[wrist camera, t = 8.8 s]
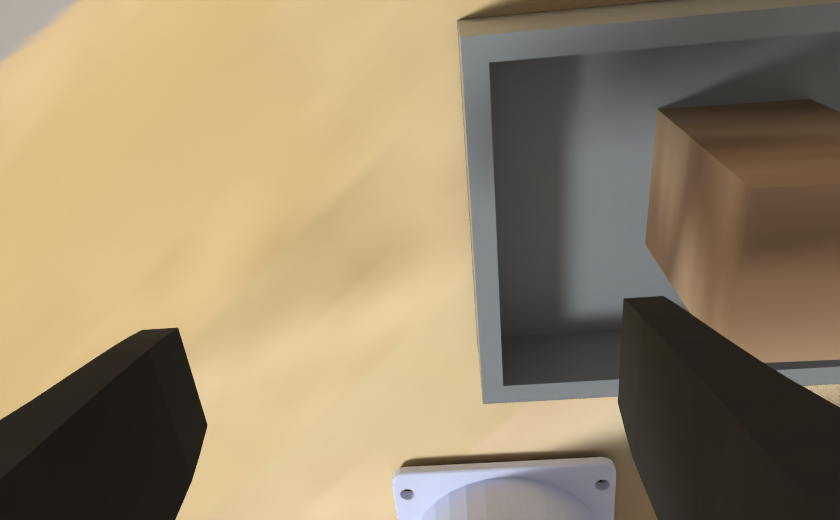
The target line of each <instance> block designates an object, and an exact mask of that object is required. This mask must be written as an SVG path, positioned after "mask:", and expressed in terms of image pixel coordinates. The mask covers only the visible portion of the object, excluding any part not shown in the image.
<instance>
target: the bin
mask: <svg viewBox="0 0 840 520" xmlns="http://www.w3.org/2000/svg"><path fill="white" fill-rule="evenodd" d="M457 26H458V42H459V58H460V74H461V89H462V105H463V121H464V137H465V153H466V168H467V184H468V200H469V216H470V232H471V248H472V263H473V279H474V295H475V311H476V327H477V343H478V354H479V365H480V376H481V386H482V397H483V404H492V403H510V402H528V401H545V400H563V399H581V398H598V397H616V396H618V392H619V373H620V354H621V335H622V316H623V298H637V297H653V296H664V297H666V298H668V299H669V300H671V301H673V302H674V303H676V304H677V305H679V306H680V307H682V308H683V309H685V310H686V311H688V309H687V308H686V306H685V305H684V303H683V302H682V300H681V299H680V297H679V296H678V294H677V292H676V291H675V289H674V288H673V286H672V285H671V283H670V282H669V280H668V279H667V277H666V276H665V274H664V272H663V271H662V269H661V268H660V266H659V265H658V263H657V262H656V260H655V259H654V257H653V256H652V254H651V252H650V251H649V249H648V248H647V246H646V245H645V239H646V228H647V216H648V205H649V194H650V183H651V171H652V160H653V149H654V137H655V126H656V115H657V109H665V108H681V107H696V106H712V105H727V104H742V103H758V102H773V101H789V100H804V99H812V100H814V101H816V102H819V103H821V104H823V105H825V106H827V107H829V108H831V109H834V110H836V111H838V112H840V0H665V1H654V2H644V3H633V4H622V5H611V6H601V7H590V8H579V9H569V10H558V11H547V12H537V13H526V14H515V15H505V16H494V17H483V18H473V19H462V20H457ZM688 312H689V311H688ZM765 364H766V365H768V366H770V367H771V368H773V369H775V370H776V371H778V372H779V373H781V374H783V375H784V376H786V377H787V378H789V379H791V380H793V381H794V382H796V383H798V384H800V385H801V386H810V385H828V384H840V360H818V361H795V362H772V363H765Z"/></svg>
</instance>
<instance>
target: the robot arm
mask: <svg viewBox="0 0 840 520" xmlns="http://www.w3.org/2000/svg"><path fill="white" fill-rule="evenodd" d="M618 405H619V408H620V412H621V416H622V420H623V424H624V428H625V432H626V435H627V439H628V442H629V446H630V450H631V453H632V457H633V460H634V462H635V465H636V467H637V470H638V472H639V474H640V477H641V479H642V482H643V484H644V487H645V489H646V491H647V494H648V496H649V499H650V501H651V504H652V506H653V508H654V511H655V513H656V516H657V518H658V520H840V407H838V406H836V405H834V404H833V403H831V402H829V401H827V400H825V399H824V398H822V397H820V396H819V395H817V394H815V393H813V392H812V391H810V390H808V389H806V388H805V387H803V386H801V385H800V384H798V383H796V382H794V381H793V380H791V379H789V378H787V377H786V376H784V375H783V374H781V373H779V372H778V371H776V370H775V369H773V368H771V367H770V366H768V365H766V364H765V363H763V362H762V361H760V360H759V359H757V358H756V357H754V356H752V355H751V354H749V353H748V352H746V351H745V350H743V349H742V348H740V347H739V346H737V345H736V344H734V343H733V342H731V341H730V340H728V339H727V338H725V337H724V336H722V335H721V334H719V333H718V332H717V331H715V330H714V329H712V328H711V327H709V326H708V325H706V324H705V323H703V322H702V321H701V320H699V319H698V318H696V317H695V316H693V315H692V314H690V313H689V312H688V311H686V310H685V309H683V308H682V307H680V306H679V305H677V304H676V303H674V302H673V301H671V300H669V299H668V298H666V297H664V296H653V297H637V298H623V316H622V335H621V354H620V373H619V392H618ZM206 429H207V422H206V419H205V416H204V412H203V409H202V406H201V402H200V399H199V396H198V392H197V389H196V386H195V382H194V379H193V376H192V373H191V369H190V366H189V363H188V359H187V356H186V353H185V349H184V346H183V343H182V339H181V336H180V333H179V329H178V328H166V329H151V330H141V331H140V332H138V333H136V334H134V335H132V336H130V337H128V338H127V339H125V340H123V341H121V342H120V343H118V344H117V345H115V346H113V347H112V348H110V349H109V350H107V351H106V352H104V353H102V354H101V355H99V356H98V357H96V358H95V359H93V360H92V361H90V362H89V363H87V364H86V365H84V366H83V367H81V368H80V369H78V370H77V371H75V372H74V373H72V374H71V375H69V376H68V377H66V378H65V379H63V380H62V381H60V382H59V383H57V384H56V385H54V386H53V387H51V388H50V389H48V390H47V391H45V392H44V393H42V394H41V395H39V396H38V397H36V398H35V399H33V400H32V401H30V402H28V403H27V404H25V405H24V406H22V407H20V408H19V409H17V410H16V411H14V412H12V413H11V414H9V415H8V416H6V417H4V418H3V419H1V420H0V520H175V519H176V517H177V514H178V512H179V510H180V507H181V505H182V503H183V500H184V498H185V496H186V493H187V491H188V489H189V486H190V484H191V482H192V479H193V475H194V472H195V469H196V465H197V462H198V459H199V456H200V452H201V448H202V444H203V440H204V437H205V433H206ZM598 480H604V481H603V482H597V481H598ZM392 485H393V492H394V499H395V505H396V512H397V519H398V520H614V509H615V491H616V469H615V466H614V463H613V462H612V460H611V459H608V458H606V457H590V458H570V459H551V460H531V461H511V462H492V463H472V464H452V465H433V466H413V467H402V468H399V469H397V470H396V471H395V472H394V474H393V482H392ZM405 489H410V490H412V491H409V492H408V491H404V490H405Z"/></svg>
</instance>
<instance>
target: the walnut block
mask: <svg viewBox="0 0 840 520" xmlns="http://www.w3.org/2000/svg"><path fill="white" fill-rule="evenodd" d="M645 245H646V246H647V248H648V249H649V251H650V252H651V254H652V256H653V257H654V259H655V260H656V262H657V263H658V265H659V266H660V268H661V269H662V271H663V272H664V274H665V276H666V277H667V279H668V280H669V282H670V283H671V285H672V286H673V288H674V289H675V291H676V292H677V294H678V296H679V297H680V299H681V300H682V302H683V303H684V305H685V306H686V308H687V309H688V311H689V313H690V314H692V315H693V316H695V317H696V318H698V319H699V320H701V321H702V322H703V323H705V324H706V325H708V326H709V327H711V328H712V329H714V330H715V331H717V332H718V333H719V334H721V335H722V336H724V337H725V338H727V339H728V340H730V341H731V342H733V343H734V344H736V345H737V346H739V347H740V348H742V349H743V350H745V351H746V352H748V353H749V354H751V355H752V356H754V357H756V358H757V359H759V360H760V361H762V362H763V363H772V362H795V361H818V360H840V112H838V111H836V110H834V109H831V108H829V107H827V106H825V105H823V104H821V103H819V102H816V101H814V100H812V99H804V100H789V101H773V102H758V103H742V104H727V105H712V106H696V107H681V108H665V109H657V115H656V126H655V137H654V149H653V160H652V171H651V183H650V194H649V205H648V216H647V228H646V239H645Z"/></svg>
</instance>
